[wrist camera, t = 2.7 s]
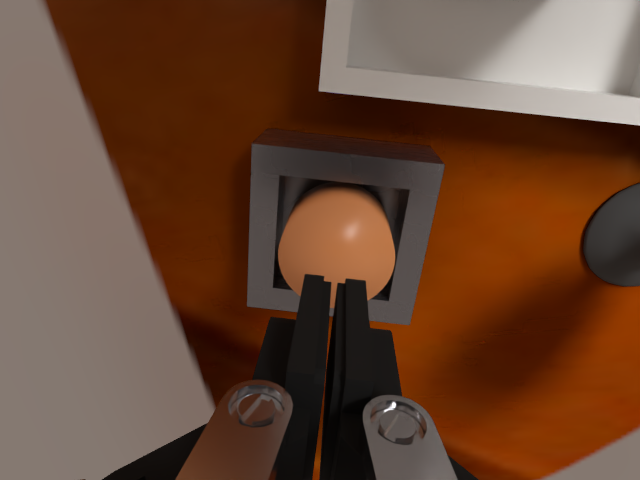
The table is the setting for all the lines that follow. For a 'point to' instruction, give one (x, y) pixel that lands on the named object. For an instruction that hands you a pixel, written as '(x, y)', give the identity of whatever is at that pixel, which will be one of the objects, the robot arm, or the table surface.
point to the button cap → (337, 239)
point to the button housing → (350, 167)
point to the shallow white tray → (489, 54)
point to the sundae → (616, 239)
